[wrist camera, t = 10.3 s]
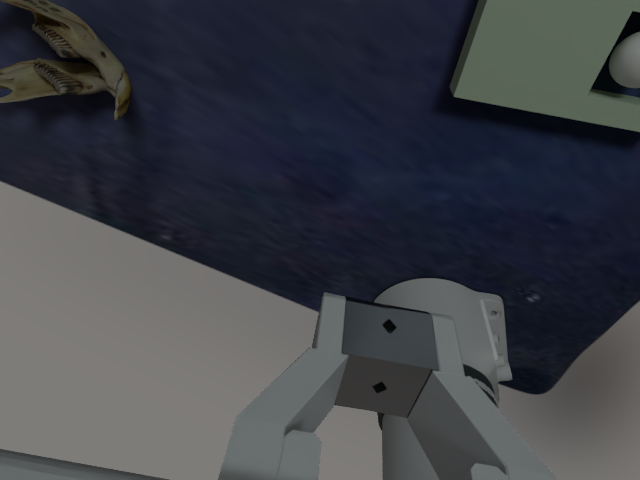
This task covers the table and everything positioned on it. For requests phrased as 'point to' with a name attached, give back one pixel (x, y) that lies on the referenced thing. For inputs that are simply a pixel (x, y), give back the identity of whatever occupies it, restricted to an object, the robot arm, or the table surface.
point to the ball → (626, 62)
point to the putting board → (546, 58)
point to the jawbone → (60, 76)
